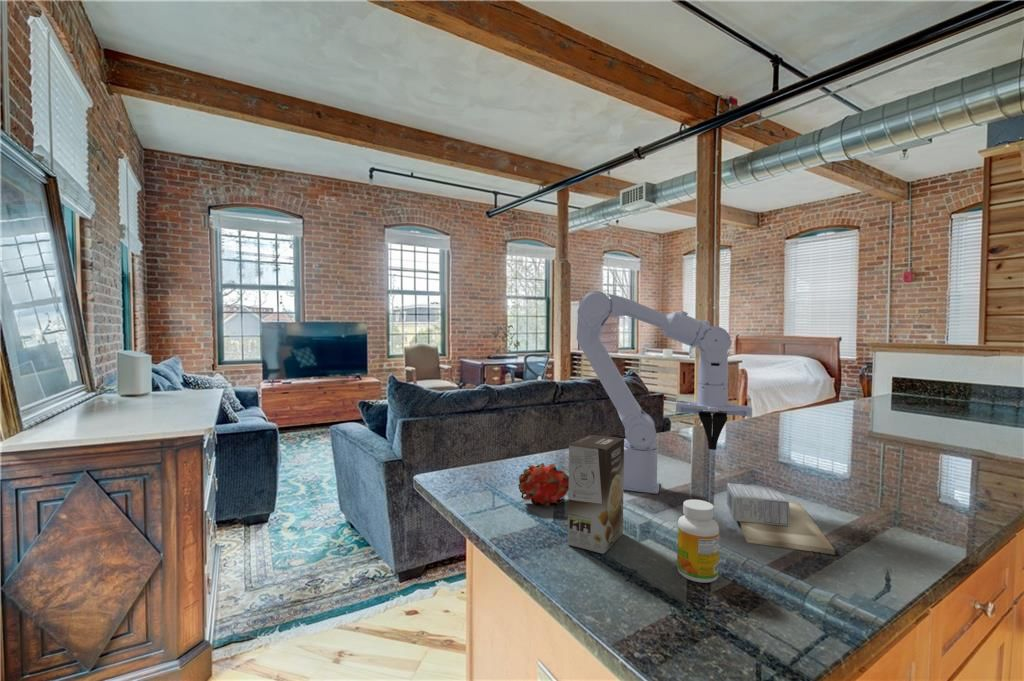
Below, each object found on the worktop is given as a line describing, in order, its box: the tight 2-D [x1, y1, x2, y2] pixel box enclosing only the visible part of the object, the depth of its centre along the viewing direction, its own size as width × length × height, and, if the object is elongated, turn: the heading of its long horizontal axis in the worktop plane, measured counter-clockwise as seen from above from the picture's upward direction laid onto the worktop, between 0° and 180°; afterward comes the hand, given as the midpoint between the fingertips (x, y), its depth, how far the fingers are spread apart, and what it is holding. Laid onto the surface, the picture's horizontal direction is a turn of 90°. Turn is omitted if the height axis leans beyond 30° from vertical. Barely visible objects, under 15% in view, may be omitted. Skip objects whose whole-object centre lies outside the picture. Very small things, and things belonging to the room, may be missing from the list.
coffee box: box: [567, 434, 625, 555], centre depth 75 cm, size 9×6×16 cm
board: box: [738, 501, 836, 555], centre depth 82 cm, size 12×20×1 cm, turn 161°
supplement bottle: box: [676, 499, 720, 584], centre depth 64 cm, size 5×5×10 cm
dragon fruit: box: [517, 462, 569, 507], centre depth 91 cm, size 8×8×12 cm
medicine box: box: [726, 482, 790, 526], centre depth 83 cm, size 8×4×9 cm
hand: (712, 448), depth 97 cm, fingers closed
